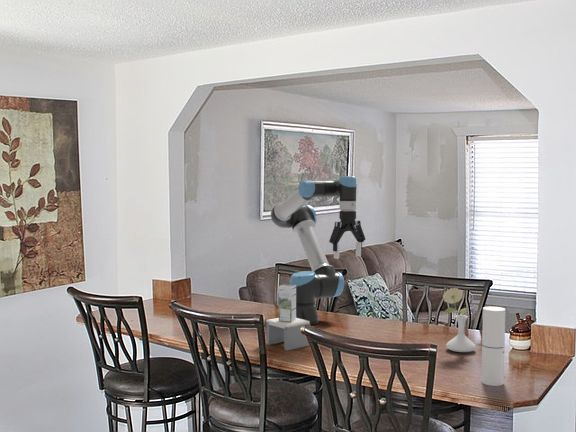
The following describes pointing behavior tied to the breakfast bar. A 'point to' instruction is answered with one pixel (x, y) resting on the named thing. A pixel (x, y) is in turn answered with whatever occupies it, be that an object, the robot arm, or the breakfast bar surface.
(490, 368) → the cylindrical container
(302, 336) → the low shelf
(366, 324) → the breakfast bar surface
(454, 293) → the flower in vase
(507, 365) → the breakfast bar surface
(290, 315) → the syrup box
